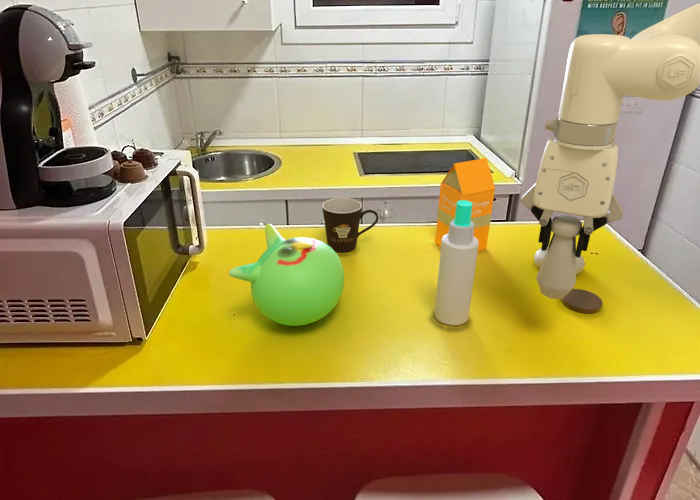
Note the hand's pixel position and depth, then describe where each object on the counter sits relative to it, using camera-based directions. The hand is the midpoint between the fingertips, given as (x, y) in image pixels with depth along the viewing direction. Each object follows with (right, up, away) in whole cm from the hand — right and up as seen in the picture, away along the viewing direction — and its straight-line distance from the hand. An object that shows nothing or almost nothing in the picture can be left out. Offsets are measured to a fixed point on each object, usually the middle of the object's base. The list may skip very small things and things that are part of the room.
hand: (561, 249), depth 79 cm
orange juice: (-7, +1, +38) cm, 39 cm away
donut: (+11, -4, +30) cm, 32 cm away
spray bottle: (-14, -12, +14) cm, 23 cm away
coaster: (+11, -10, +18) cm, 23 cm away
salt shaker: (0, -7, +4) cm, 8 cm away
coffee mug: (-33, 0, +37) cm, 50 cm away
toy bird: (-42, -12, +14) cm, 46 cm away
